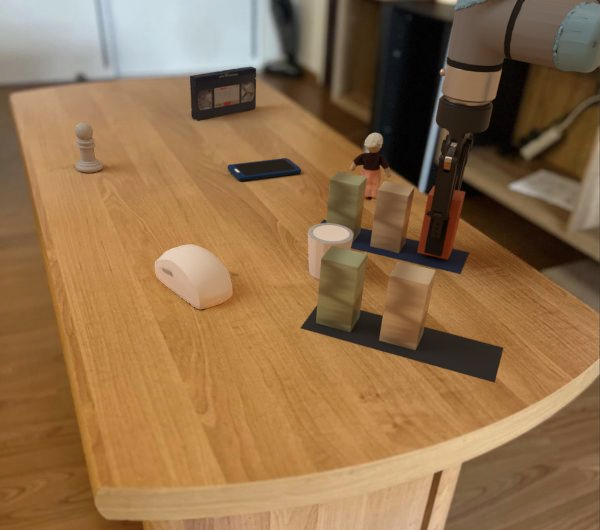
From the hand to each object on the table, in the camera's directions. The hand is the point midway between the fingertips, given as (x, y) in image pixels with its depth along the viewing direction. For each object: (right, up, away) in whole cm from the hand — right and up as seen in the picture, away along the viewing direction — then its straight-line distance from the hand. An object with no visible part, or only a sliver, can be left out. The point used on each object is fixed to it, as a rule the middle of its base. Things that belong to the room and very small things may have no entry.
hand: (436, 247), depth 103 cm
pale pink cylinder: (-18, -5, -5) cm, 19 cm away
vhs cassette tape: (-41, +43, +57) cm, 82 cm away
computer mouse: (-38, -8, -10) cm, 40 cm away
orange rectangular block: (0, -1, 0) cm, 1 cm away
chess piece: (-64, +19, +24) cm, 71 cm away
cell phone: (-29, +20, +27) cm, 45 cm away
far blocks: (-11, +2, +4) cm, 12 cm away
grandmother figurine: (-9, +12, +19) cm, 24 cm away
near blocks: (-13, -14, -17) cm, 25 cm away
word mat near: (-9, -15, -18) cm, 25 cm away
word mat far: (-7, +1, +3) cm, 8 cm away
